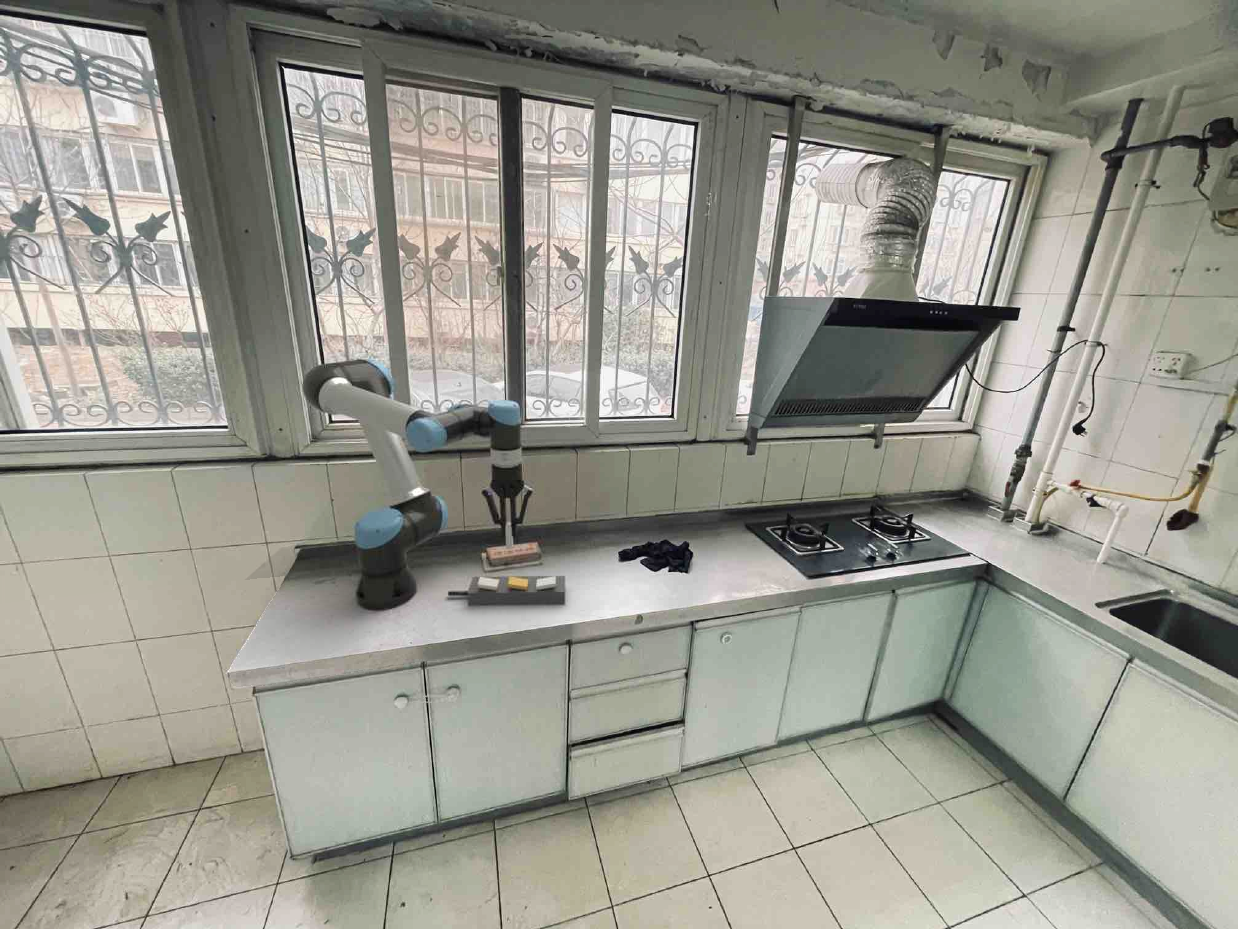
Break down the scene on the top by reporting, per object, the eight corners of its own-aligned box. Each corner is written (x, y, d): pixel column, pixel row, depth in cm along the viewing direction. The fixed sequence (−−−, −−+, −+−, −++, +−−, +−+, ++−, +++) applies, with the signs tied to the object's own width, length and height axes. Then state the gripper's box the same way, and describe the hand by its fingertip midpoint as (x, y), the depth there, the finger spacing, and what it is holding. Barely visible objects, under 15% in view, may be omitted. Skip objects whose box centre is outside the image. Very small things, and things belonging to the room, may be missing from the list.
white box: (477, 587, 132) (477, 584, 131) (479, 579, 135) (480, 576, 135) (496, 590, 132) (497, 587, 132) (498, 582, 136) (499, 579, 135)
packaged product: (537, 537, 162) (543, 552, 153) (537, 550, 163) (543, 565, 154) (480, 544, 155) (483, 559, 147) (481, 557, 157) (484, 573, 148)
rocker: (536, 589, 133) (536, 586, 133) (537, 582, 137) (537, 579, 137) (555, 586, 134) (555, 583, 133) (556, 579, 137) (555, 576, 137)
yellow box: (507, 587, 132) (508, 583, 132) (509, 579, 136) (509, 576, 135) (526, 590, 133) (527, 586, 133) (527, 582, 137) (528, 579, 136)
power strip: (445, 606, 132) (444, 592, 130) (452, 589, 139) (451, 576, 138) (564, 604, 135) (564, 591, 134) (565, 587, 143) (565, 575, 141)
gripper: (477, 467, 118) (482, 554, 126) (531, 468, 120) (533, 553, 127) (482, 458, 125) (487, 540, 133) (533, 458, 127) (535, 539, 134)
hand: (509, 546), depth 130 cm, fingers closed
